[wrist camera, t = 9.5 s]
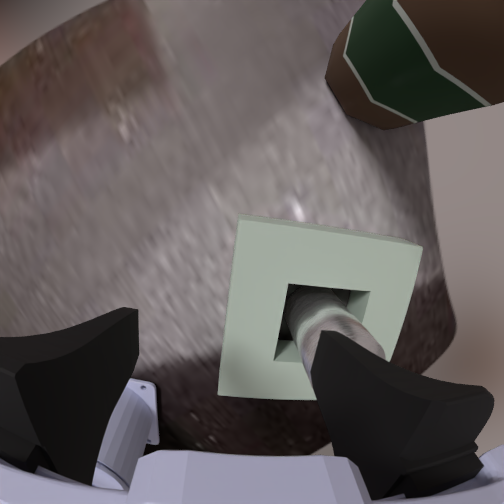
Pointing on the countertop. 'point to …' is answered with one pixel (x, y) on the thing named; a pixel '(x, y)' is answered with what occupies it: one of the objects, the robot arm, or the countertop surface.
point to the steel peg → (323, 322)
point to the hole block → (313, 274)
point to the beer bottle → (418, 60)
